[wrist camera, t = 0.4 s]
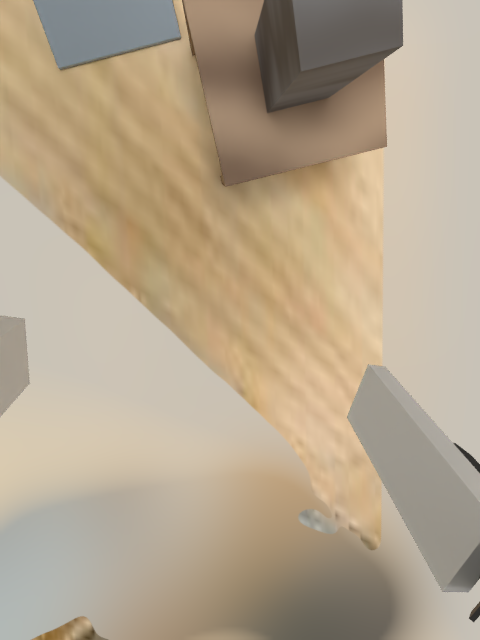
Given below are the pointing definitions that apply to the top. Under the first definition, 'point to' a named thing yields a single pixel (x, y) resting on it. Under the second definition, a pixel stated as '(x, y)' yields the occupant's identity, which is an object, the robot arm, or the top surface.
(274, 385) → the top surface
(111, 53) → the mat
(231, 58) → the brown legged piece
